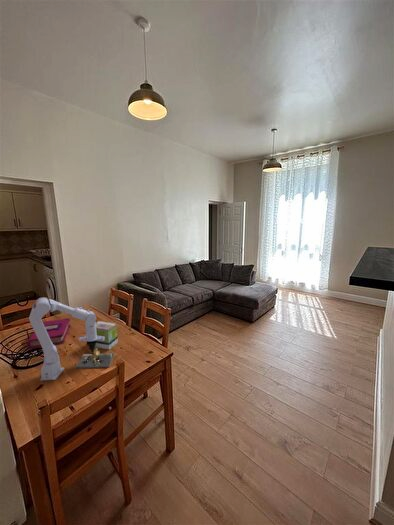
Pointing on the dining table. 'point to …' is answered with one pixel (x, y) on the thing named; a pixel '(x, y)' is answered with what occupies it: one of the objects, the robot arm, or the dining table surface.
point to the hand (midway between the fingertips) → (93, 351)
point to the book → (51, 333)
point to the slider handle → (95, 354)
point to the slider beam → (89, 356)
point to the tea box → (106, 334)
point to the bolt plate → (95, 363)
